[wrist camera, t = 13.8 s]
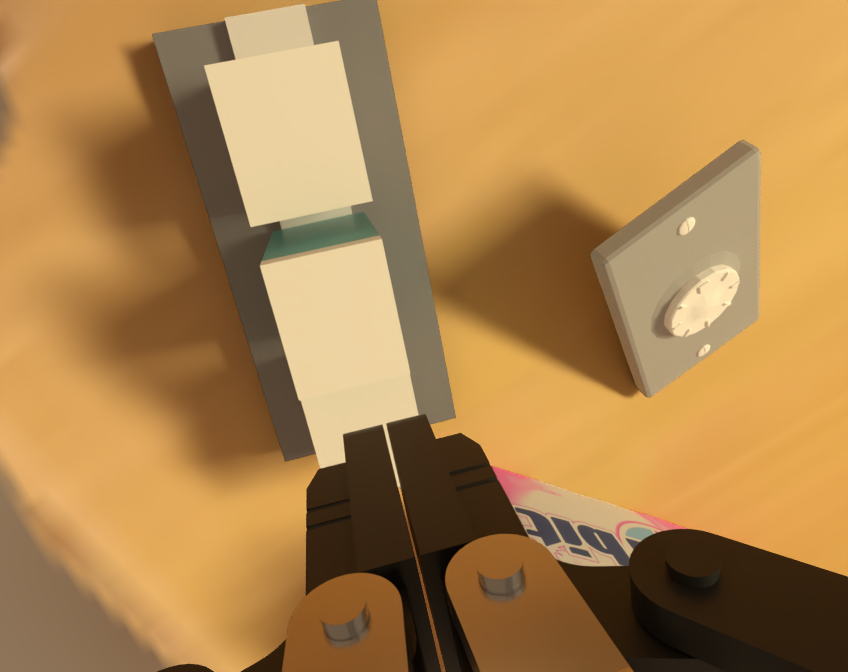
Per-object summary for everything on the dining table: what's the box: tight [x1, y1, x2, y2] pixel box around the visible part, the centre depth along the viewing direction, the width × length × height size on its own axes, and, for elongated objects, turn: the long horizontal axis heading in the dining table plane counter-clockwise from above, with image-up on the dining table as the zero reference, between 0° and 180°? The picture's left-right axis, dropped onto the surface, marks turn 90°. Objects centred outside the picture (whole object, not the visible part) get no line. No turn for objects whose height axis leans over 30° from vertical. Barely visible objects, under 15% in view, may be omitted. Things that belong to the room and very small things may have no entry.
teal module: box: [260, 212, 410, 401], centre depth 26 cm, size 6×4×8 cm
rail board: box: [152, 0, 456, 487], centre depth 29 cm, size 22×10×7 cm, turn 11°
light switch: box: [590, 140, 761, 398], centre depth 33 cm, size 8×6×14 cm
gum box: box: [491, 466, 687, 566], centre depth 36 cm, size 24×8×14 cm, turn 66°
